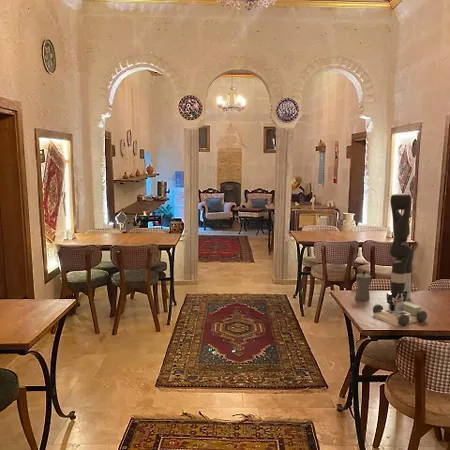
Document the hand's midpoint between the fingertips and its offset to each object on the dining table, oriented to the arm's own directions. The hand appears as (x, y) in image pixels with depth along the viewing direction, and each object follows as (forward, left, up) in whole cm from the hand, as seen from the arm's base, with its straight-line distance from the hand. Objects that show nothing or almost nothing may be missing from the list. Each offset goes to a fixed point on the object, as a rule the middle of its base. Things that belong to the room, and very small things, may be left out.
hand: (395, 309), depth 245 cm
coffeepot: (-11, -35, -5) cm, 37 cm away
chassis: (-3, 0, -5) cm, 6 cm away
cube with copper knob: (0, 0, -1) cm, 1 cm away
